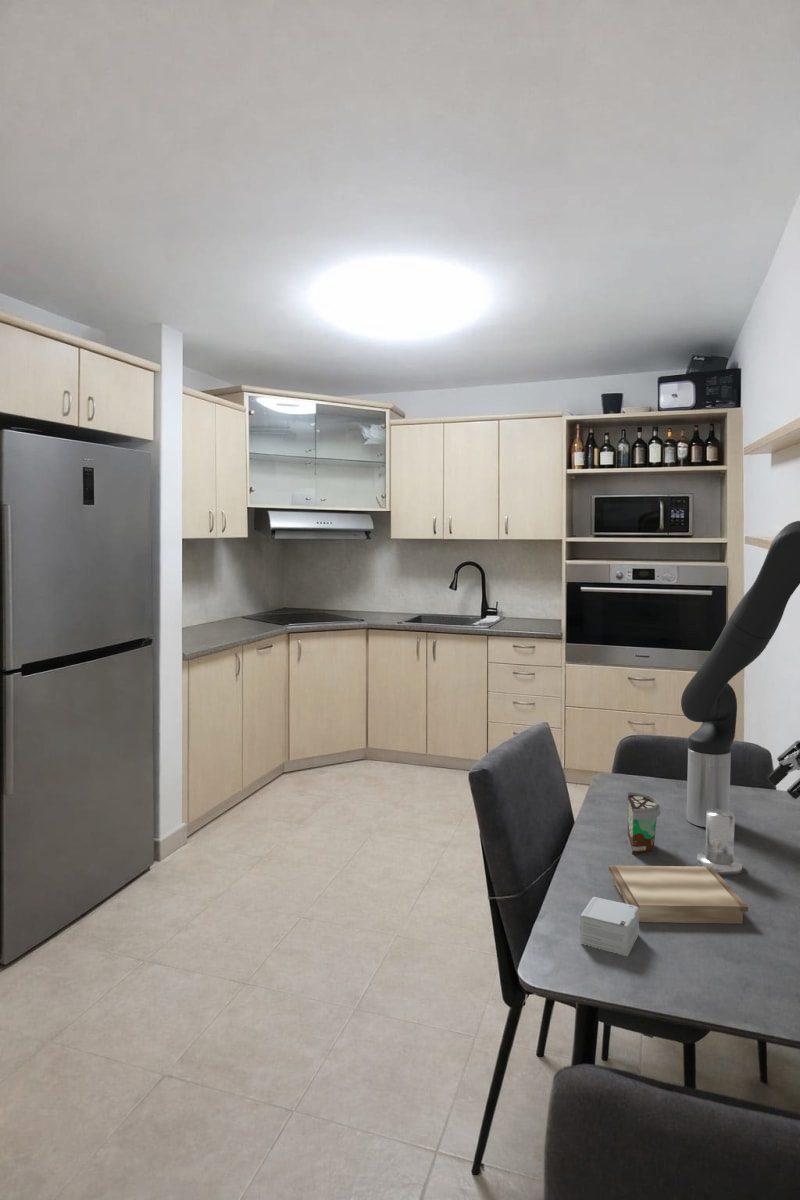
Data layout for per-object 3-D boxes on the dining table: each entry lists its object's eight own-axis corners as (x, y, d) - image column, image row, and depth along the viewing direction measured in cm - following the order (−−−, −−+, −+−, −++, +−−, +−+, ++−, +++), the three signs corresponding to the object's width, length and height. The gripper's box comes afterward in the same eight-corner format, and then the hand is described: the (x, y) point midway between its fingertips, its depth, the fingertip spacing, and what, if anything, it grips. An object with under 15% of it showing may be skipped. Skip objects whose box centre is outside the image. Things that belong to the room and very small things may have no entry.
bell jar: (690, 857, 154) (691, 806, 153) (731, 858, 153) (733, 806, 153) (705, 875, 145) (707, 820, 145) (749, 876, 145) (750, 821, 144)
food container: (663, 859, 153) (664, 811, 152) (632, 856, 154) (633, 809, 154) (655, 836, 165) (656, 792, 164) (626, 834, 166) (627, 791, 166)
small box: (592, 924, 127) (593, 895, 127) (639, 936, 123) (640, 906, 123) (579, 945, 120) (579, 914, 120) (628, 958, 116) (628, 926, 116)
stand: (608, 880, 143) (608, 864, 143) (710, 881, 143) (711, 866, 142) (631, 922, 127) (632, 905, 127) (747, 924, 126) (748, 907, 126)
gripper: (808, 711, 154) (751, 765, 155) (847, 726, 139) (784, 786, 141) (834, 736, 154) (777, 790, 155) (875, 754, 139) (812, 813, 141)
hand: (780, 788), depth 148 cm, fingers open, 8 cm apart
